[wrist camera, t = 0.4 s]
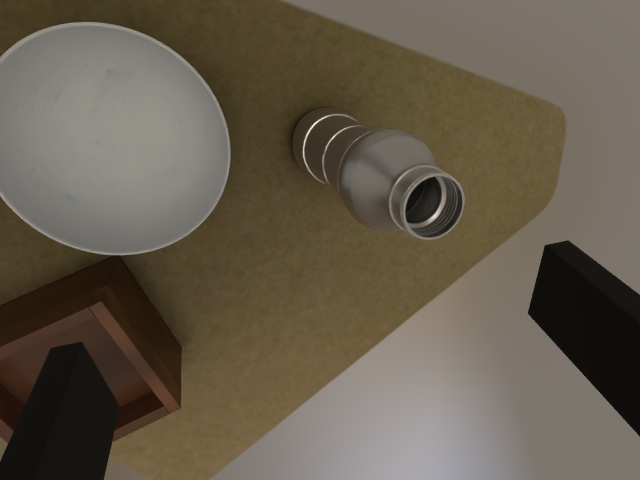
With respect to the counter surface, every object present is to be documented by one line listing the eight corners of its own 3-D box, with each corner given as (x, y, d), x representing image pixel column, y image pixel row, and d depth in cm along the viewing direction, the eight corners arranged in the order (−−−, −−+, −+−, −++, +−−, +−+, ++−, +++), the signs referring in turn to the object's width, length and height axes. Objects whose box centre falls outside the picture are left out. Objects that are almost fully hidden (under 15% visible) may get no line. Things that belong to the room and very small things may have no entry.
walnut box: (-15, 311, 36) (-67, 377, 29) (118, 253, 38) (101, 301, 30) (69, 401, 42) (43, 476, 34) (181, 348, 43) (181, 408, 36)
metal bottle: (323, 88, 37) (449, 112, 20) (367, 143, 40) (508, 207, 23) (271, 139, 38) (348, 207, 20) (319, 190, 41) (421, 287, 23)
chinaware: (238, 66, 35) (251, 66, 28) (204, 232, 39) (208, 268, 32) (26, 0, 29) (-23, -20, 22) (14, 202, 34) (-29, 237, 27)
